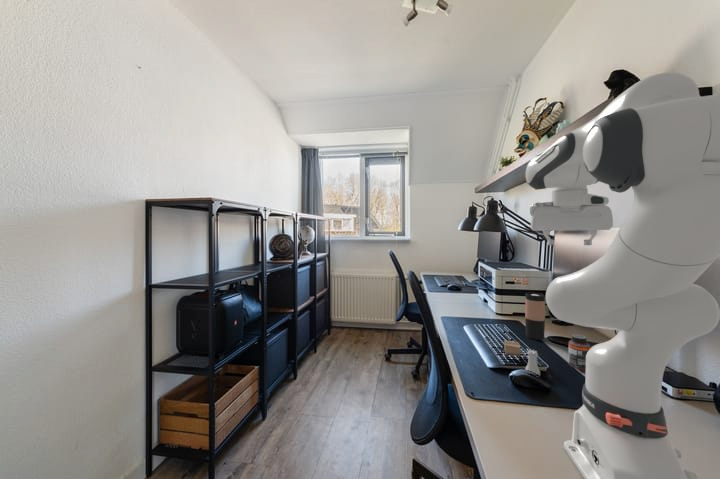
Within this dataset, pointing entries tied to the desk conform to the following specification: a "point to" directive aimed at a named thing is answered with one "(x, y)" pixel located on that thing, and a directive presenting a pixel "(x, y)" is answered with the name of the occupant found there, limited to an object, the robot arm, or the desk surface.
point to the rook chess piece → (532, 362)
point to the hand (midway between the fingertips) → (568, 245)
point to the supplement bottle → (578, 352)
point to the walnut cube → (512, 348)
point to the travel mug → (535, 315)
